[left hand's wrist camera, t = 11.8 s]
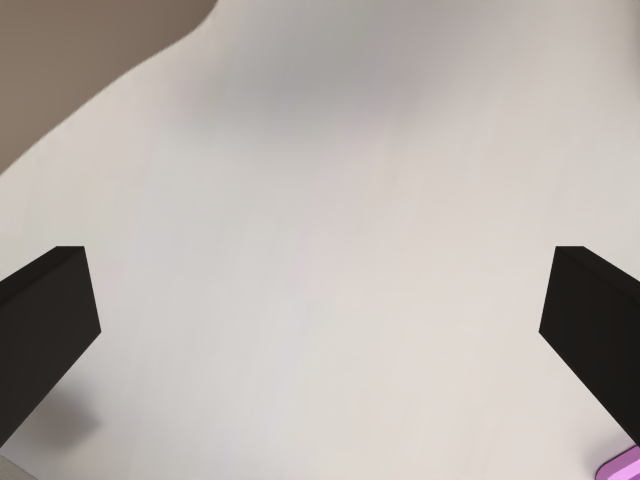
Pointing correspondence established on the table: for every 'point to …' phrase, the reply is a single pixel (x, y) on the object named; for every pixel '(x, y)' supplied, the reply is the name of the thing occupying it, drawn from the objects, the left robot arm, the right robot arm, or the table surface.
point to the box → (12, 471)
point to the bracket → (622, 467)
